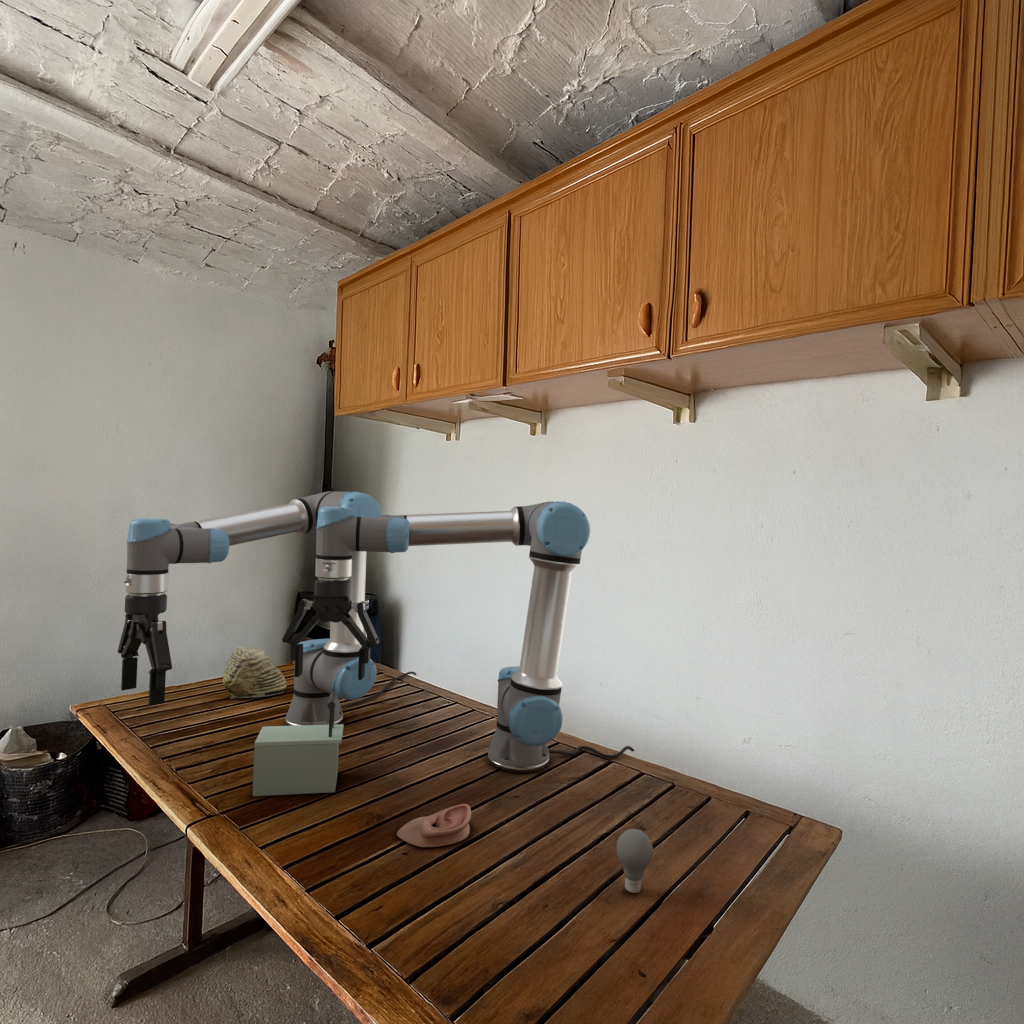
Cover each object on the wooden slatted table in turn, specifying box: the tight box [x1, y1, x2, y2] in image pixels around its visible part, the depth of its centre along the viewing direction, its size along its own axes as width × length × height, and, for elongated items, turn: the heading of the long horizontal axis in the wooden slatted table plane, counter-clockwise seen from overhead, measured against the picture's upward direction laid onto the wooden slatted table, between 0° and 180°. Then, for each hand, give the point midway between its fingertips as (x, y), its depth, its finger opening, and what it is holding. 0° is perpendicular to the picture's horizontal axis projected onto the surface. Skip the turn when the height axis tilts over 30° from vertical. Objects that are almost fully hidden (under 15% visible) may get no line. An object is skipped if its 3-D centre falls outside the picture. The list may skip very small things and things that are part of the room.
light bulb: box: [615, 828, 654, 894], centre depth 106 cm, size 6×6×10 cm
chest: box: [252, 743, 340, 797], centre depth 139 cm, size 17×9×10 cm, turn 102°
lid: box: [254, 693, 345, 747], centre depth 139 cm, size 18×9×9 cm, turn 102°
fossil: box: [222, 646, 288, 699], centre depth 198 cm, size 9×18×15 cm, turn 132°
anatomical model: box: [396, 803, 472, 848], centre depth 121 cm, size 13×4×12 cm
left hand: (142, 696), depth 130 cm, fingers open, 13 cm apart
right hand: (329, 676), depth 136 cm, fingers open, 13 cm apart
